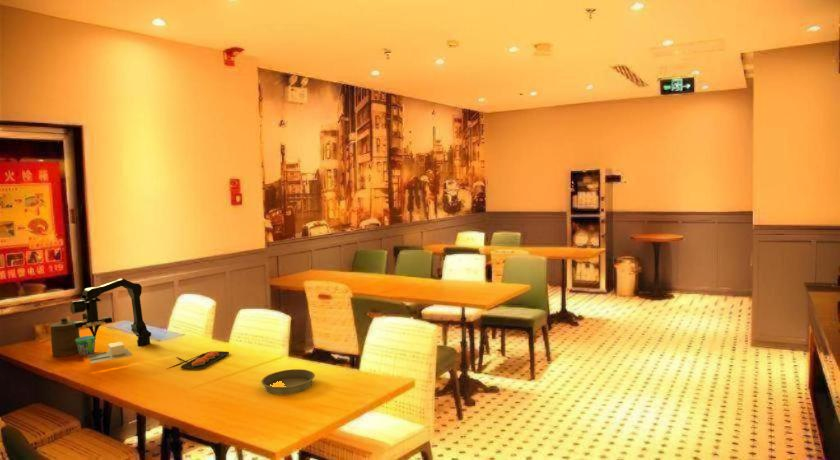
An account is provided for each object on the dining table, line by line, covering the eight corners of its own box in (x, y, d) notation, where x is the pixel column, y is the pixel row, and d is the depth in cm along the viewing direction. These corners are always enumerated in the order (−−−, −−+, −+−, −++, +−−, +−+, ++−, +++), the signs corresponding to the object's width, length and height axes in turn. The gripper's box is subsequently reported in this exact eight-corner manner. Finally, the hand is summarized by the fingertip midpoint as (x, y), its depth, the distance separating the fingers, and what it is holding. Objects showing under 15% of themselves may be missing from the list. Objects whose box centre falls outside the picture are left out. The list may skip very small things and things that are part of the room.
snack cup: (74, 353, 348) (72, 337, 347) (94, 350, 354) (92, 333, 353) (79, 359, 336) (77, 342, 335) (99, 355, 342) (98, 338, 341)
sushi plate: (203, 371, 304) (202, 364, 304) (152, 370, 310) (151, 363, 310) (231, 354, 333) (231, 348, 332) (184, 354, 339) (184, 347, 338)
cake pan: (252, 388, 275) (251, 379, 274) (296, 374, 292) (296, 365, 292) (279, 400, 257) (279, 391, 257) (325, 385, 274) (325, 376, 274)
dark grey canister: (86, 349, 357) (83, 313, 355) (69, 356, 343) (66, 319, 341) (64, 349, 359) (60, 314, 357) (46, 356, 344) (42, 320, 342)
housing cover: (121, 349, 347) (121, 341, 346) (124, 353, 339) (124, 344, 339) (108, 352, 343) (107, 343, 342) (111, 355, 335) (110, 347, 334)
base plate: (127, 350, 350) (126, 345, 349) (133, 357, 335) (132, 351, 335) (87, 358, 337) (86, 352, 337) (91, 365, 323) (91, 359, 322)
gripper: (107, 305, 344) (110, 331, 345) (71, 310, 333) (74, 337, 334) (111, 308, 335) (113, 334, 337) (73, 313, 324) (76, 341, 326)
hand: (94, 336), depth 333 cm, fingers closed
